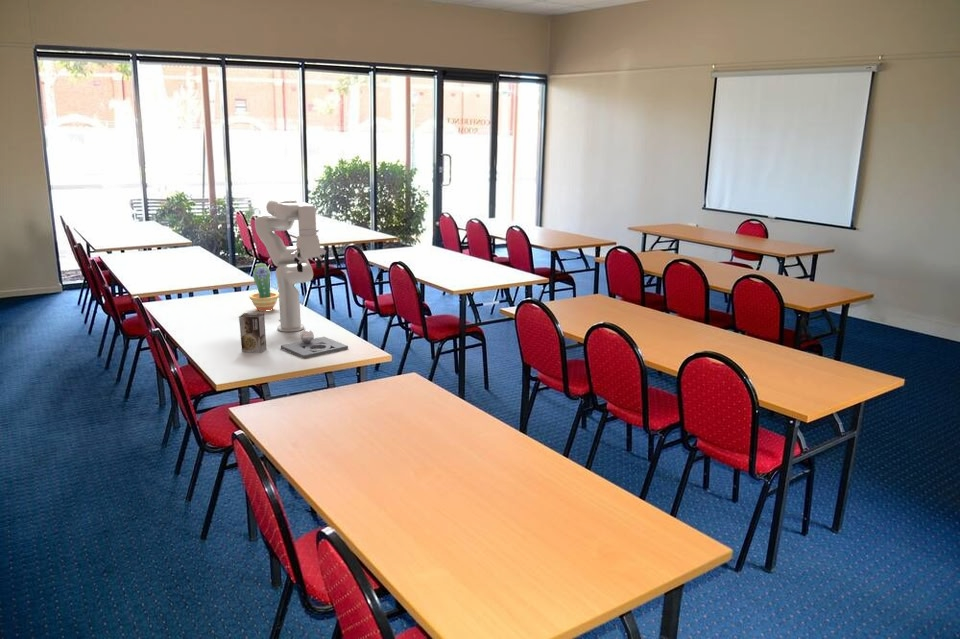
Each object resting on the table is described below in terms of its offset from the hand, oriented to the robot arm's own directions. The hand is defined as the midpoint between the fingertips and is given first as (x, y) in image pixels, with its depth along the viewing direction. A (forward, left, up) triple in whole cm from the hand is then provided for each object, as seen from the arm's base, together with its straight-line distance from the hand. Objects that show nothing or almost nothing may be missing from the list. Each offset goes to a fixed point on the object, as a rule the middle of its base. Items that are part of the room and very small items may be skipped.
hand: (309, 270), depth 330 cm
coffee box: (-2, -28, -33) cm, 43 cm away
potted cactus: (-68, +11, -33) cm, 76 cm away
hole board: (+13, -7, -32) cm, 36 cm away
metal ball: (+7, -7, -28) cm, 30 cm away
